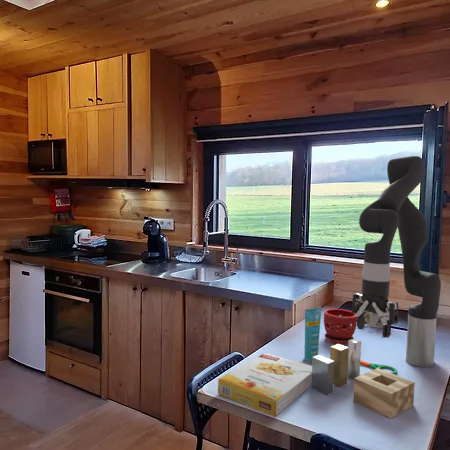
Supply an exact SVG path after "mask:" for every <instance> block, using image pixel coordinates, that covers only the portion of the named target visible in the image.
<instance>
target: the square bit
mask: <svg viewBox="0 0 450 450" xmlns="http://www.w3.org/2000/svg"><path fill="white" fill-rule="evenodd" d="M348 352H349V348H348V346H346V345H344V344H334V345H331V346H330V349H329V353H330V354H329V359H330V360H333V361H334V378H333V384H334V385H333V386H336V387H338V388H341V387H343V386H345V384H346V385H347V384H348Z"/></svg>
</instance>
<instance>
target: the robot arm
mask: <svg viewBox="0 0 450 450" xmlns="http://www.w3.org/2000/svg"><path fill="white" fill-rule="evenodd" d="M386 171H387V172H386V173H387V179H388V183H389V185H388V186H386V187H385V188H384V189H383V190H381V193H380V194H379V196H378V197H377V199H376V200H375V201H373V202H372V203H370V204H369V205H367V206H366V207H365V208H364V209H363V210H362V212H361V213H360V215H359V219H358V224H359V227H360V229H361V230H362V231H363V232H366V233H371V234H382V236H381V238H380V239H378V240H371V241H368V242H366V243H365V245H364V257H363V267H362V278H361V292H357V293H353V295H352V300H351V301H352V303H351V312H352V313H355V314H356V315H357V323H356V327H357V329H358V330H361V331H362V330H364V329H365V325H366V322H365V314H366V313H367V312H373V313H374V314H378V316H379V317H380V318H381V319H382V321H383V323H384V324H383V328H382V338H390V336H391V334H392V333H391V332H392V325H396V324H398V323H399V303H398V302H397V301H394V302H392V301H389V294H390V283H391V282H390V281H391V280H390V279H391V266H390V265H391V250H392V245H393V241H394V238H395V235H396V233H397V232H398V237H399V242H400V247H401V248H400V249H401V255H402V263H403V264H402V267H403V282H404V283H403V284H404V288H405V291H406V292H407V293H408V294H409V295H412V296H416V297H420V298H422V300H421V303H420V304H412V305H409V307H408V309H407V310H408V312H407V332H406V351H405V361H406V362H407V363H408V364H411V365H413V366H415V367H421V368H428V367H433V366H434V362H435V351H436V332H437V331H436V329H437V314H438V312H439V308H440V307H439V305H440V297H441V288H442V286H441V285H442V283H441V278H440V276H439V275H438V274H437V273H433V272H428V271H424V270H423V271H422V270H420V263H419V260H420V259H419V258H420V255H421V253H422V251H423V249H424V248H425V246H426V243H427V242H428V238H429V233H428V232H429V231H428V226H427V221H426V217H425V216H424V213H422V212H421V211H420V209H419V208H418V207H417V206H416V205H415V204H414V203H413V202H412V201H411V199H410V198H409V195H410V194H412V192H413V191H414V190H415V189H416V188H417V187H418V186H419V185H420V184H421V183H422V181H423V180H424V178H425V174H426V165H425V162H424V160H423V157H420V156H419V155H411V156H402V157H396V158H390V159H389V160H388V162H387V165H386ZM397 230H398V231H397ZM361 304H362V305H361ZM382 312H384V313H382Z"/></svg>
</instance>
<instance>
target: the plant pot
mask: <svg viewBox="0 0 450 450" xmlns="http://www.w3.org/2000/svg"><path fill="white" fill-rule="evenodd" d="M323 325H324V329H325V334H324V338H325V339H326V340H327V342H330V343H332V344H334V345H336V344H340V345H348V341H349V340H355V338H354V337H353V335H354V334H355V332H356V330H357V329H356V327H357V315H356V314H355V313H352V310H347V309H339V308H329V309H326V310H324V313H323Z"/></svg>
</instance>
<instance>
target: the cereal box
mask: <svg viewBox="0 0 450 450" xmlns="http://www.w3.org/2000/svg"><path fill="white" fill-rule="evenodd" d="M311 384H312V365H311V364H310V365H309V364H308V363H307V364H306V363H302V362H299V361H297V360H292V359H287V358H284V357H280V356H278V355H275V354H271V353H268V352H264V353H262V354H260V355H259V356H257V357H255V358H253V359H252V360H250V361H248V362H246V363H245V364H242V365H241V366H238V367H237V368H235V369H233V370H232V371H230V372H228V373H226V374H225V375H223V376H222V377H221V376H220V377H219V378H218V382H217V393H218V395H219V396H222V397H224V398H227V399H230V400H232V401H234V402H238V403H240V404H242V405H244V406H247V407H250V408H252V409H254V410H256V411H259V412H263V413H264V414H267V415H270V416H272V417H276V416H277V415H278V414H280V413H281V412H282V411H283V410H285V408H286V407H288V406H289V405H290V404H292V402H294V401H295V400H296V399H297V398H298V397H299V396H300V395H302V394H303V393H304V392H305V391H306V390H308V389H309V388H310V387H311Z"/></svg>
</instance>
